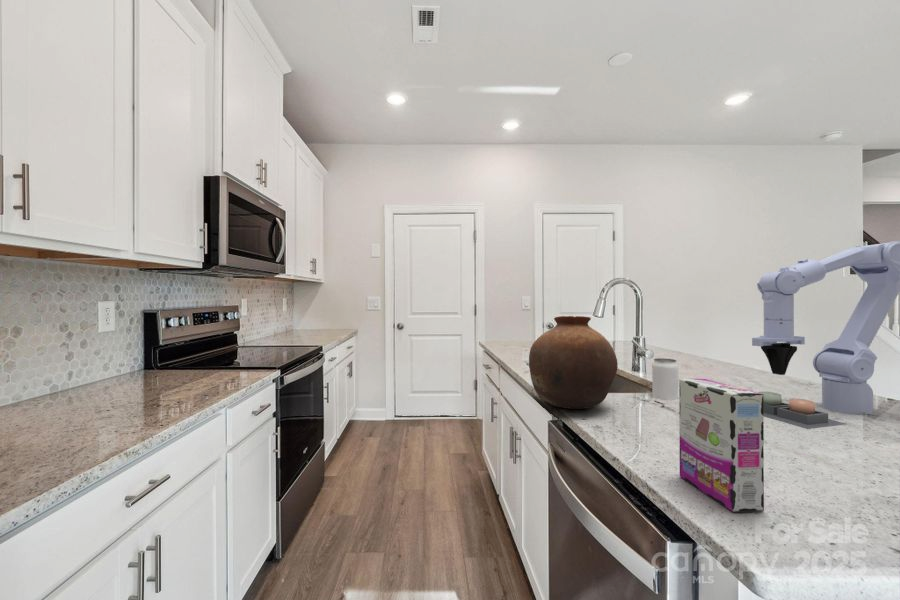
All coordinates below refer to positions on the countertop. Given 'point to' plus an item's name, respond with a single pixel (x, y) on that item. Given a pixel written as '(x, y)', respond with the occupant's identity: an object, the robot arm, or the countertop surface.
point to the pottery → (572, 364)
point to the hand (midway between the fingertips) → (778, 374)
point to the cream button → (744, 387)
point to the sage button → (771, 398)
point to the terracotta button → (802, 406)
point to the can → (665, 379)
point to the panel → (798, 417)
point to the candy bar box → (722, 442)
